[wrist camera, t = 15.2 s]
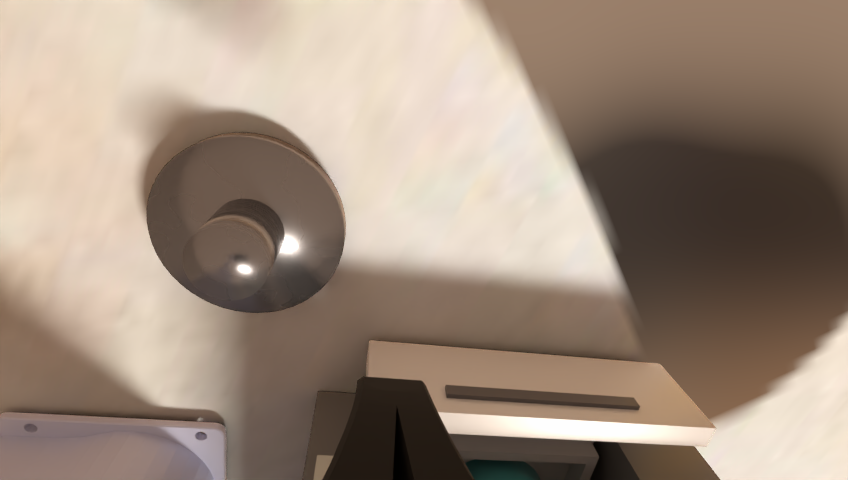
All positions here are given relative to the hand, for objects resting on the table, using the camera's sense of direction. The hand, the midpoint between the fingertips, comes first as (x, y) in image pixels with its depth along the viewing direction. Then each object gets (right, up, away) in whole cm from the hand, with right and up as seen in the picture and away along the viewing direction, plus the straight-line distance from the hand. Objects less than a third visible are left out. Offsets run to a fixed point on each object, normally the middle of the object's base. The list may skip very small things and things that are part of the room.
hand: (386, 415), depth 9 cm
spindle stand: (-6, +4, +8) cm, 11 cm away
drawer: (+4, -9, +15) cm, 18 cm away
